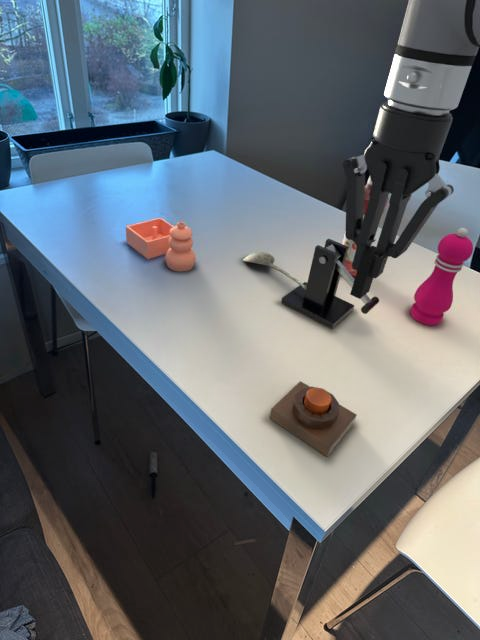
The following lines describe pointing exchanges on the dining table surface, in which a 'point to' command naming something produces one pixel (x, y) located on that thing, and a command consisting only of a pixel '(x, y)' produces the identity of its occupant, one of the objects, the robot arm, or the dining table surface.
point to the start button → (317, 400)
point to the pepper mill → (441, 279)
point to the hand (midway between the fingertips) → (359, 292)
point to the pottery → (163, 242)
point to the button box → (312, 420)
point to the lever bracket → (322, 288)
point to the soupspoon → (268, 263)
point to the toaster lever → (350, 280)
